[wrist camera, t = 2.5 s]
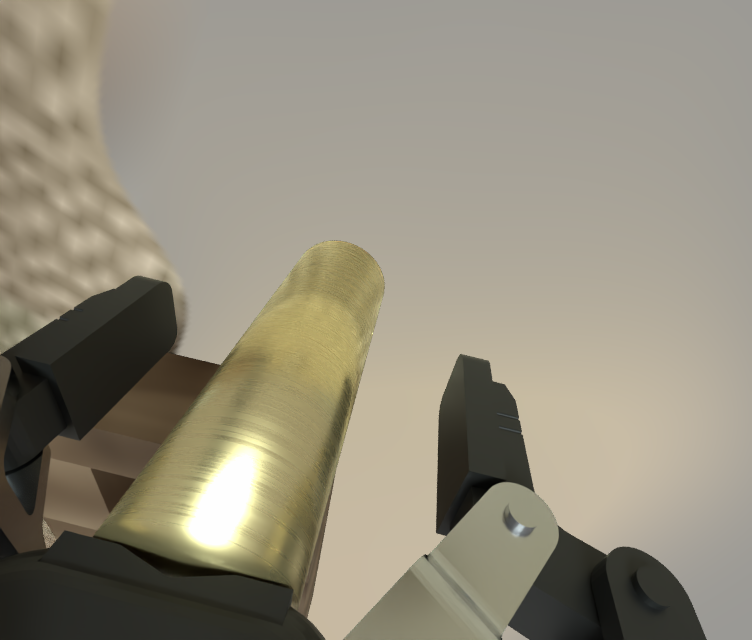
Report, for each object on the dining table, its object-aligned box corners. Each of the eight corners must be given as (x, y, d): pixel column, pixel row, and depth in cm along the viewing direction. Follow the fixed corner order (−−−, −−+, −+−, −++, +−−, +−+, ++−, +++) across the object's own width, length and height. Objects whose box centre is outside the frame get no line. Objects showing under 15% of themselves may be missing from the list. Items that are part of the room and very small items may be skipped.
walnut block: (67, 329, 16) (-31, 397, 13) (349, 395, 16) (324, 484, 12) (148, 554, 27) (106, 621, 24) (312, 595, 27) (294, 669, 24)
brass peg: (298, 231, 12) (64, 498, 5) (392, 252, 12) (304, 559, 5) (294, 310, 14) (116, 598, 6) (376, 329, 14) (293, 643, 6)
